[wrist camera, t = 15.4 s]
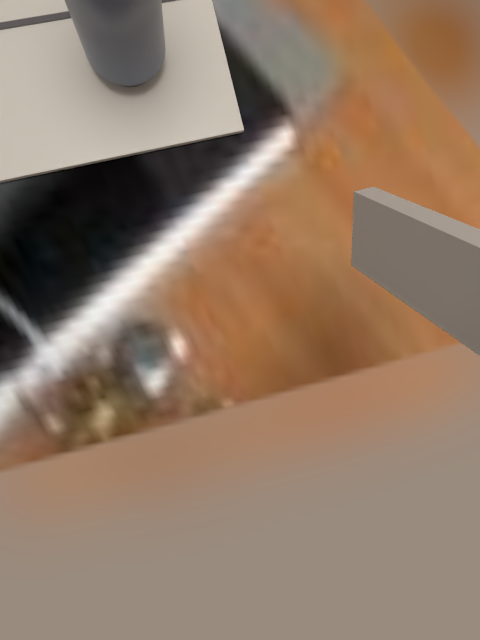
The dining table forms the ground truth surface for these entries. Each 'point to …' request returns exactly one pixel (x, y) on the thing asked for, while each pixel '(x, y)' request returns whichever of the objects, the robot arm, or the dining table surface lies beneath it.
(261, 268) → the dining table surface
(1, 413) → the dining table surface
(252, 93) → the dining table surface
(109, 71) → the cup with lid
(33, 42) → the sheet
